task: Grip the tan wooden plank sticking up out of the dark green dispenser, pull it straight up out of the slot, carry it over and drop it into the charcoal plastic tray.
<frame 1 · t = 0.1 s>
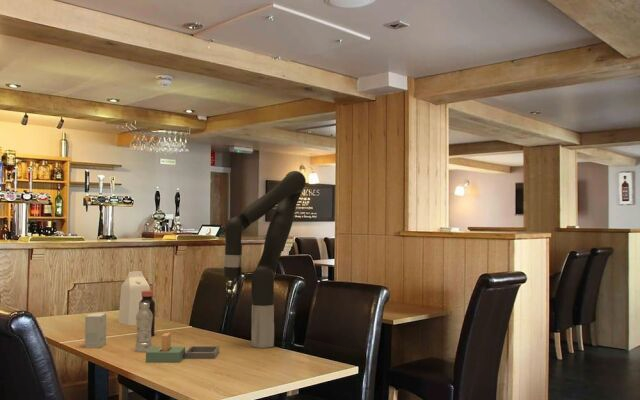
hand: (230, 304, 253), 17 cm above the table, tool pointing down, fingers open, 8 cm apart
milk: (134, 323, 308), on the table
tan wooden plank: (165, 359, 222), point 1 cm above the table, touching dispenser
small box: (95, 346, 251), on the table
dispenser: (165, 363, 222), on the table
tray: (202, 359, 229), on the table
vinegar: (146, 336, 274), on the table
plastic bottle: (143, 354, 236), on the table
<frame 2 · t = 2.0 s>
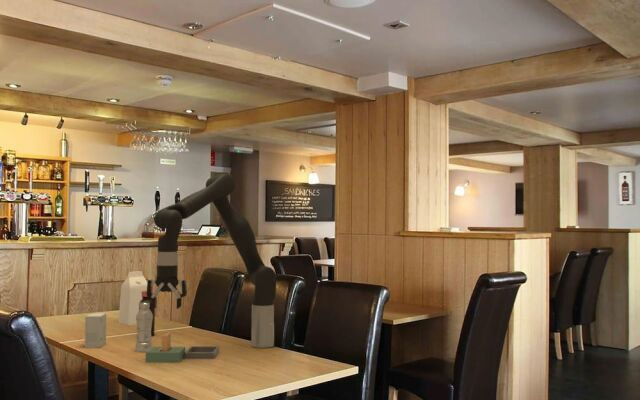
hand: (166, 308, 222), 20 cm above the table, tool pointing down, fingers open, 8 cm apart
nothing on the table moved.
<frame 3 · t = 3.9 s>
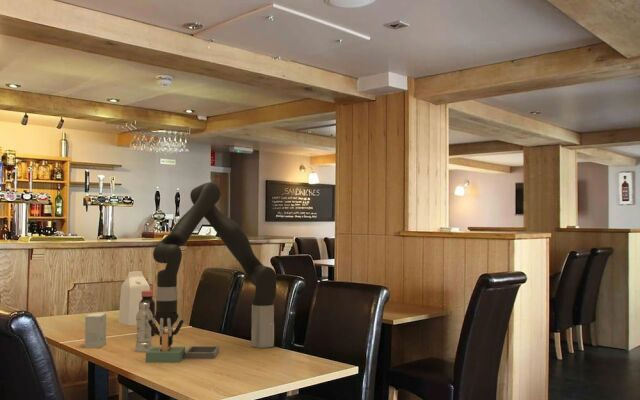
hand: (166, 346, 222), 6 cm above the table, tool pointing down, fingers closed on tan wooden plank, 1 cm apart
tan wooden plank: (166, 358, 222), point 2 cm above the table, touching gripper
everything else where it was.
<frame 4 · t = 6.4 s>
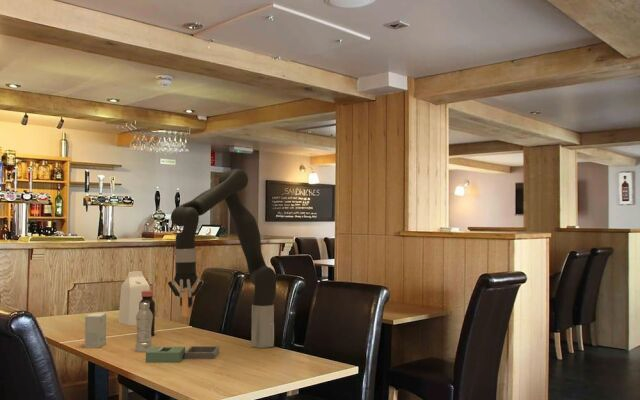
hand: (186, 307, 226), 20 cm above the table, tool pointing down, fingers closed on tan wooden plank
tan wooden plank: (185, 316, 225), point 17 cm above the table, tilted 10°, touching gripper
everything else where it was.
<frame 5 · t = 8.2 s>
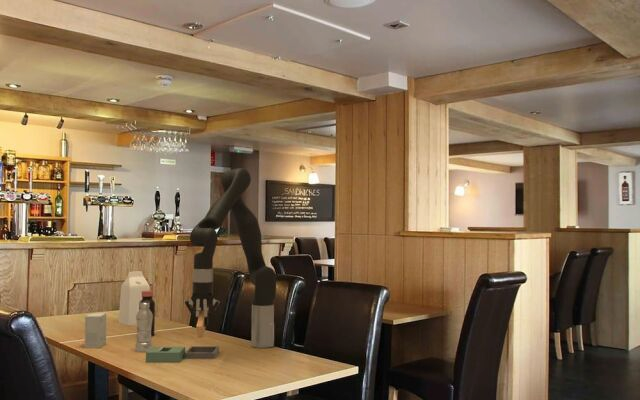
hand: (201, 326, 229), 12 cm above the table, tool pointing down, fingers closed on tan wooden plank
tan wooden plank: (199, 332, 225), point 11 cm above the table, tilted 58°, touching gripper
everything else where it was.
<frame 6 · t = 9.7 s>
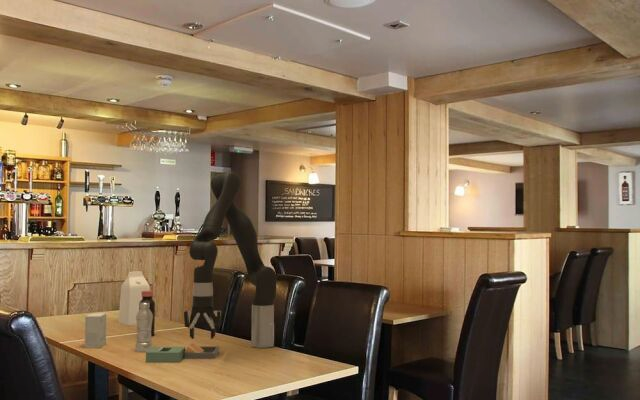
hand: (202, 338, 229), 8 cm above the table, tool pointing down, fingers open, 6 cm apart
tan wooden plank: (192, 353, 224), point 3 cm above the table, tilted 90°, touching tray
everything else where it was.
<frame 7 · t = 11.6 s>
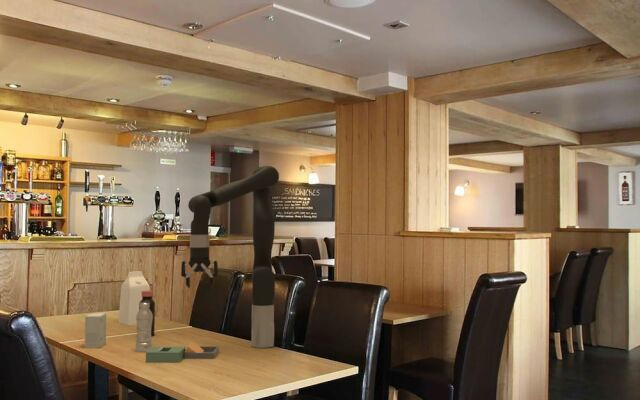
hand: (199, 287, 239), 26 cm above the table, tool pointing down, fingers open, 8 cm apart
nothing on the table moved.
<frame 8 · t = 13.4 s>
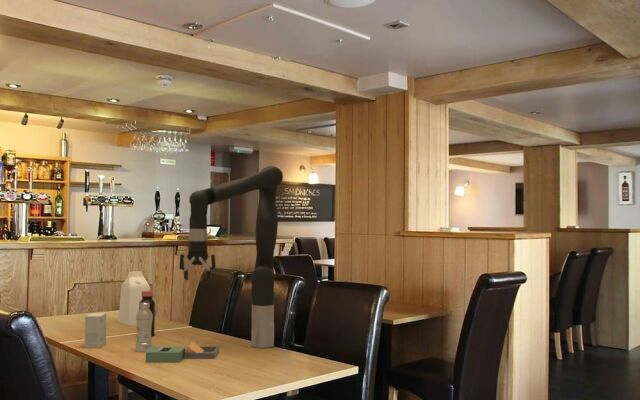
hand: (197, 280, 246), 28 cm above the table, tool pointing down, fingers open, 8 cm apart
nothing on the table moved.
at the end: tan wooden plank inside the target area on the tray (5.6 cm from its centre), point 3.3 cm above the tray's base; tan wooden plank touching tray; the gripper is holding nothing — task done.
